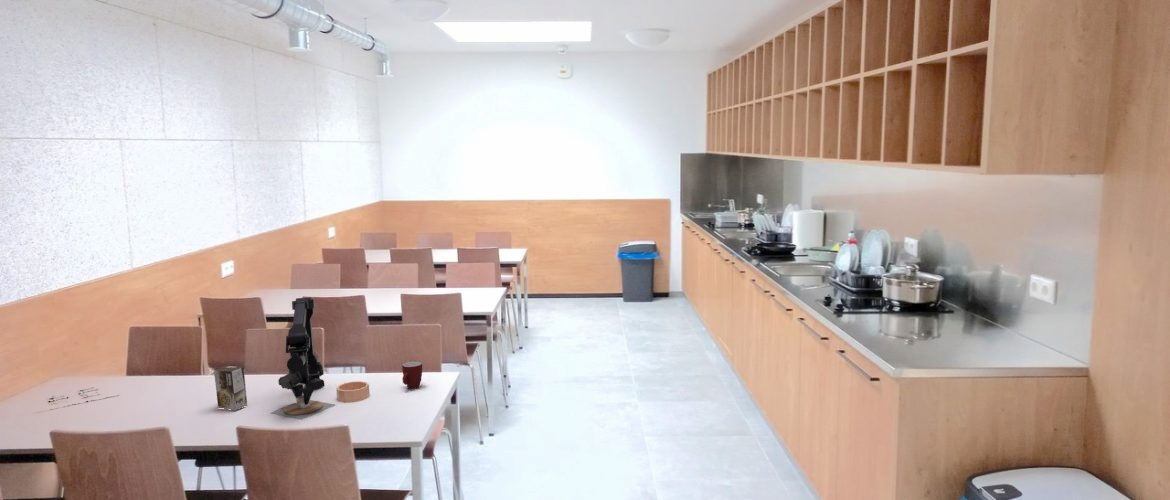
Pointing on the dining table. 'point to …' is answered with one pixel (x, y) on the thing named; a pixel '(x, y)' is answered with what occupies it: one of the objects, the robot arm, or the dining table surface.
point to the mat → (281, 412)
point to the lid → (302, 407)
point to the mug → (412, 374)
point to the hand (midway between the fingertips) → (303, 403)
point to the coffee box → (230, 387)
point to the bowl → (353, 391)
